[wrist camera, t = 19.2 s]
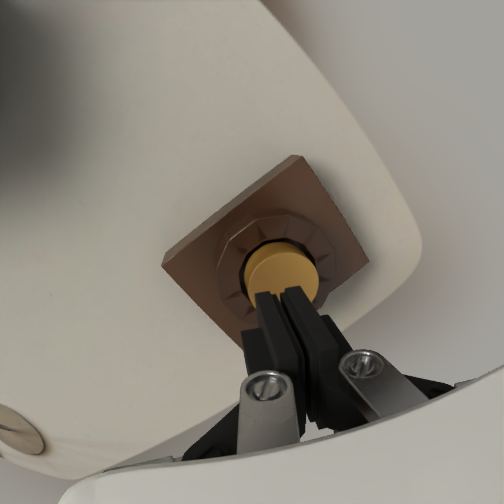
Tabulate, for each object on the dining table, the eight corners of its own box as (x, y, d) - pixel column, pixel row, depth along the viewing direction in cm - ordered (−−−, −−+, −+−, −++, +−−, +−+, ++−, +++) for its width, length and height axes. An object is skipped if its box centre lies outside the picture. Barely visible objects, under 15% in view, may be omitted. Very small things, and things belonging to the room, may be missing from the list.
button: (285, 227, 17) (294, 237, 15) (320, 276, 18) (331, 289, 16) (230, 269, 17) (232, 283, 15) (269, 314, 18) (275, 330, 17)
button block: (292, 154, 19) (313, 157, 15) (355, 250, 22) (383, 272, 18) (165, 253, 20) (156, 278, 16) (241, 334, 23) (249, 369, 19)
